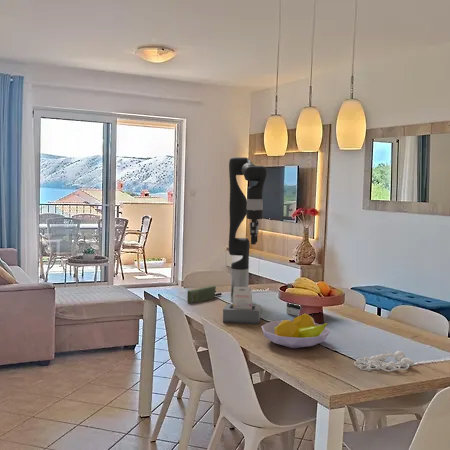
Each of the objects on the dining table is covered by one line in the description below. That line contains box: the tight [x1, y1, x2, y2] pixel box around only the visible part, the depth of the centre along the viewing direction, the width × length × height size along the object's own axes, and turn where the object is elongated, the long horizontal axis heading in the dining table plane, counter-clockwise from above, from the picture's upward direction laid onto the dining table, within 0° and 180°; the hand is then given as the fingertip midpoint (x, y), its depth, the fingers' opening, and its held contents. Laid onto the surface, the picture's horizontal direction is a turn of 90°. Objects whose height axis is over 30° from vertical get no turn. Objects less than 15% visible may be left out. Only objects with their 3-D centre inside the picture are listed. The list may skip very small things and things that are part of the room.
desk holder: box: [222, 303, 262, 325], centre depth 256 cm, size 12×16×6 cm
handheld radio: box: [186, 284, 222, 304], centre depth 300 cm, size 7×3×25 cm
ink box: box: [232, 286, 253, 309], centre depth 256 cm, size 9×5×15 cm, turn 84°
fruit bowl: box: [261, 313, 331, 349], centre depth 220 cm, size 28×27×11 cm
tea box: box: [285, 281, 318, 317], centre depth 270 cm, size 15×10×15 cm, turn 131°
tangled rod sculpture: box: [353, 350, 415, 372], centre depth 194 cm, size 19×14×4 cm
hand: (254, 243), depth 264 cm, fingers open, 8 cm apart
